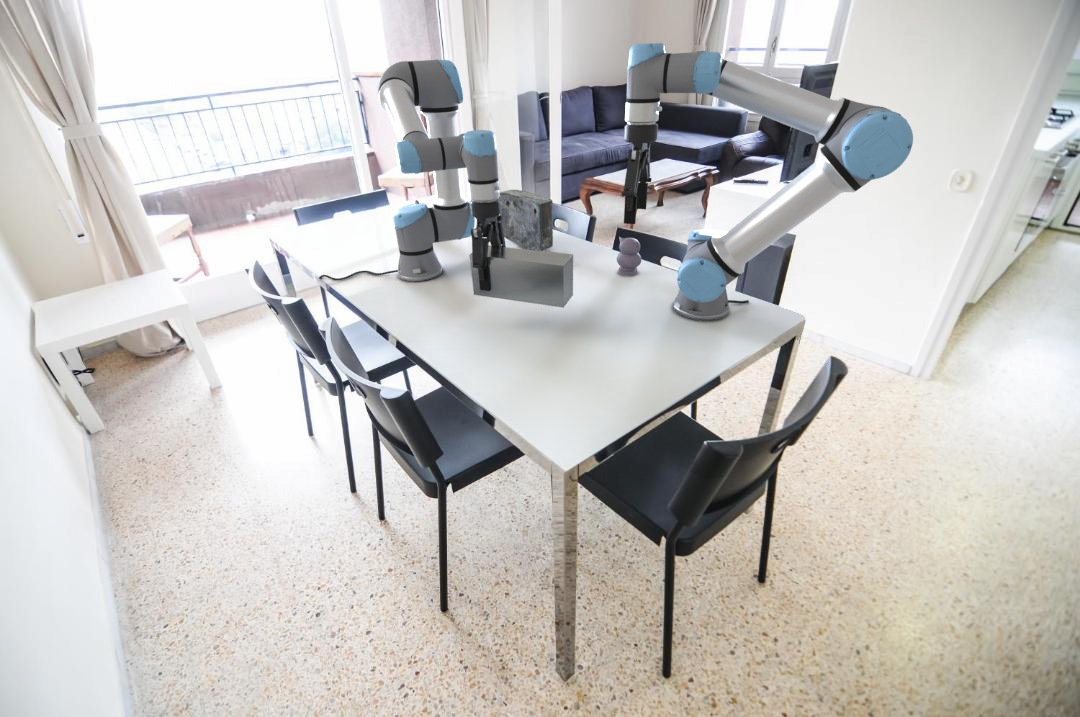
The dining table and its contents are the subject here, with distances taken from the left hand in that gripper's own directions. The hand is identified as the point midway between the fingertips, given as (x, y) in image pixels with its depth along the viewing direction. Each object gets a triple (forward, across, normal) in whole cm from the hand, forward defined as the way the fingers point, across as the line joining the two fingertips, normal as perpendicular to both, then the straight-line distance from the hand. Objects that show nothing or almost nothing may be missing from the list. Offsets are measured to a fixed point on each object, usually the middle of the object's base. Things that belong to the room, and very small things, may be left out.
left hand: (492, 283), depth 136 cm
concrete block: (+13, +62, +15) cm, 65 cm away
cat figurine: (+12, +47, -28) cm, 56 cm away
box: (+2, 0, -9) cm, 9 cm away
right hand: (-18, +13, -35) cm, 42 cm away
